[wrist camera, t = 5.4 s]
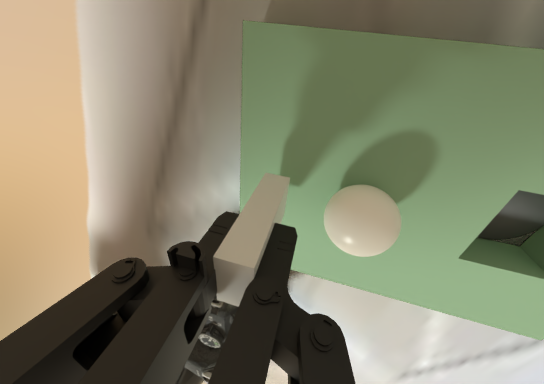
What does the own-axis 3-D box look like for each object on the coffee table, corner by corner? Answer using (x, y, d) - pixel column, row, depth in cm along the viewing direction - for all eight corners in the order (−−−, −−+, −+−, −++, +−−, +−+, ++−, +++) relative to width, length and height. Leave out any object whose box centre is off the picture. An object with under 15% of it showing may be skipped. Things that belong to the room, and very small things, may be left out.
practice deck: (250, 233, 22) (239, 254, 20) (261, 27, 13) (242, 20, 10) (513, 302, 18) (541, 340, 16) (811, 82, 9) (995, 92, 6)
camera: (186, 244, 26) (117, 329, 18) (257, 237, 22) (211, 341, 14) (231, 309, 32) (194, 396, 24) (294, 312, 28) (276, 417, 20)
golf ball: (319, 216, 15) (314, 260, 12) (333, 166, 13) (332, 203, 10) (377, 230, 14) (389, 281, 11) (404, 180, 12) (428, 225, 9)
